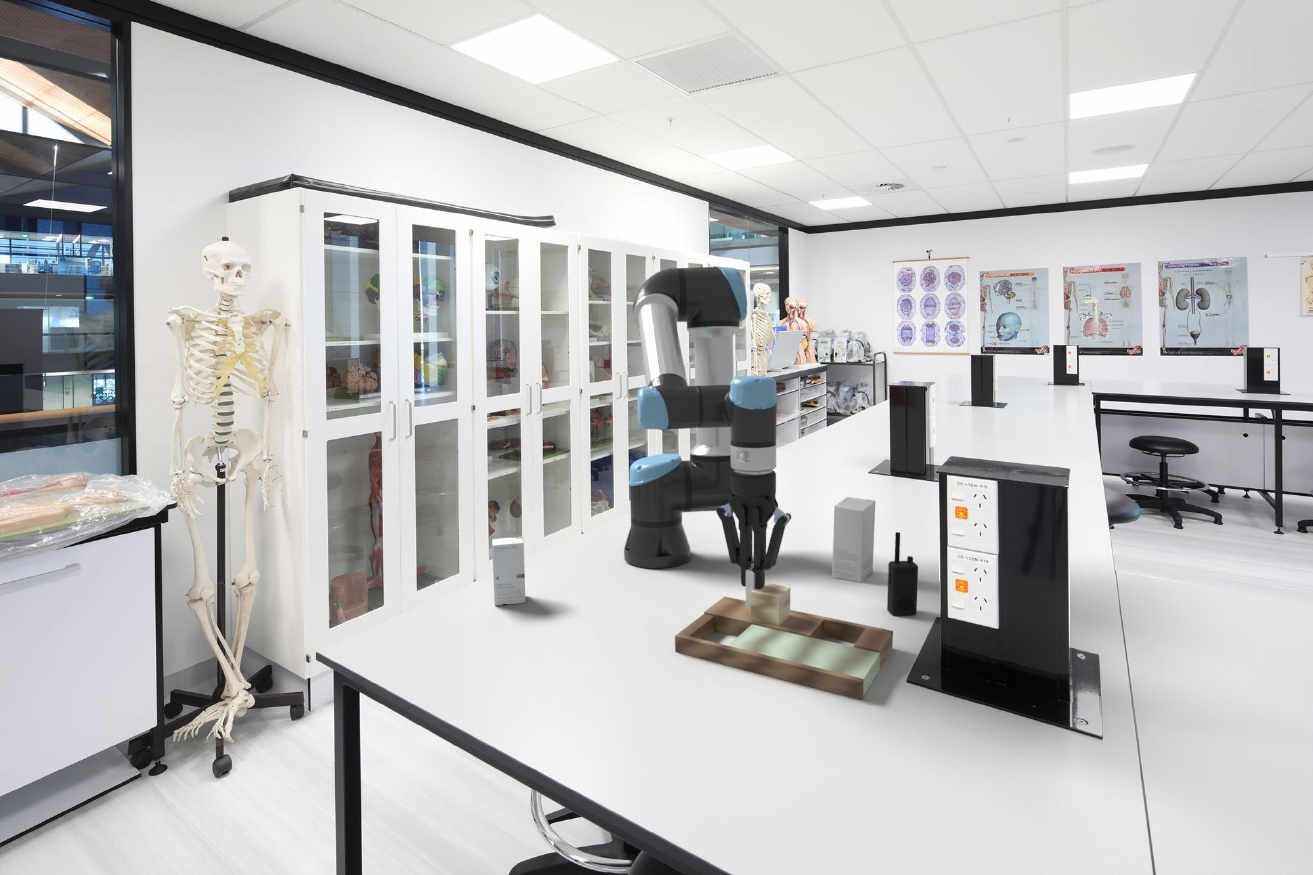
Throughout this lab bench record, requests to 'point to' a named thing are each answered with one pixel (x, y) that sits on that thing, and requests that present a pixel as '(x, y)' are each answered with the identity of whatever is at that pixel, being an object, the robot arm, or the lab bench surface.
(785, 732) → the lab bench surface
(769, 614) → the block
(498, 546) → the skincare box
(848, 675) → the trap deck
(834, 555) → the skincare box
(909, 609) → the walkie-talkie
